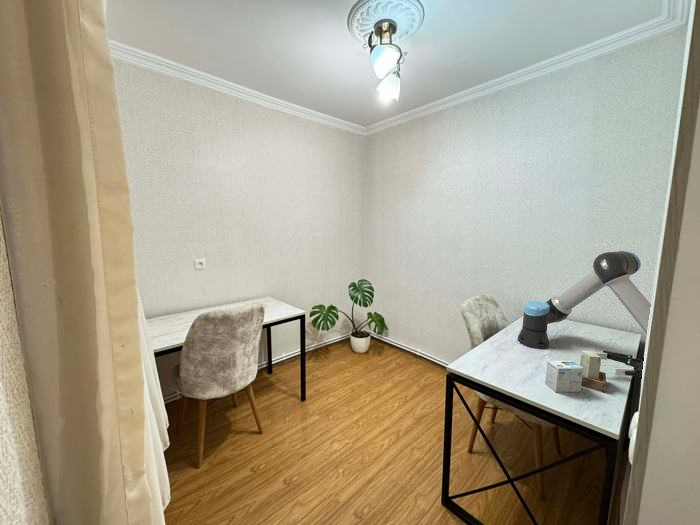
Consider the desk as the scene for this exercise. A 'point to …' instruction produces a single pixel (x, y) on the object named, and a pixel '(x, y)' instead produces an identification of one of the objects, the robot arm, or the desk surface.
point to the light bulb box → (564, 376)
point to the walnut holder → (595, 382)
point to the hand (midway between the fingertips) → (601, 362)
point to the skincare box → (590, 364)
